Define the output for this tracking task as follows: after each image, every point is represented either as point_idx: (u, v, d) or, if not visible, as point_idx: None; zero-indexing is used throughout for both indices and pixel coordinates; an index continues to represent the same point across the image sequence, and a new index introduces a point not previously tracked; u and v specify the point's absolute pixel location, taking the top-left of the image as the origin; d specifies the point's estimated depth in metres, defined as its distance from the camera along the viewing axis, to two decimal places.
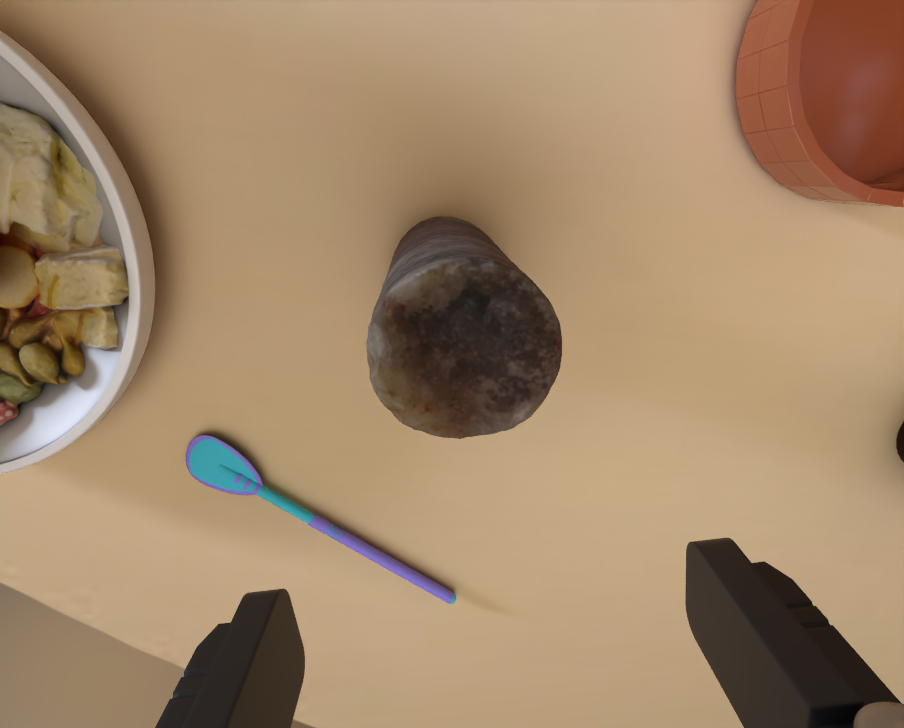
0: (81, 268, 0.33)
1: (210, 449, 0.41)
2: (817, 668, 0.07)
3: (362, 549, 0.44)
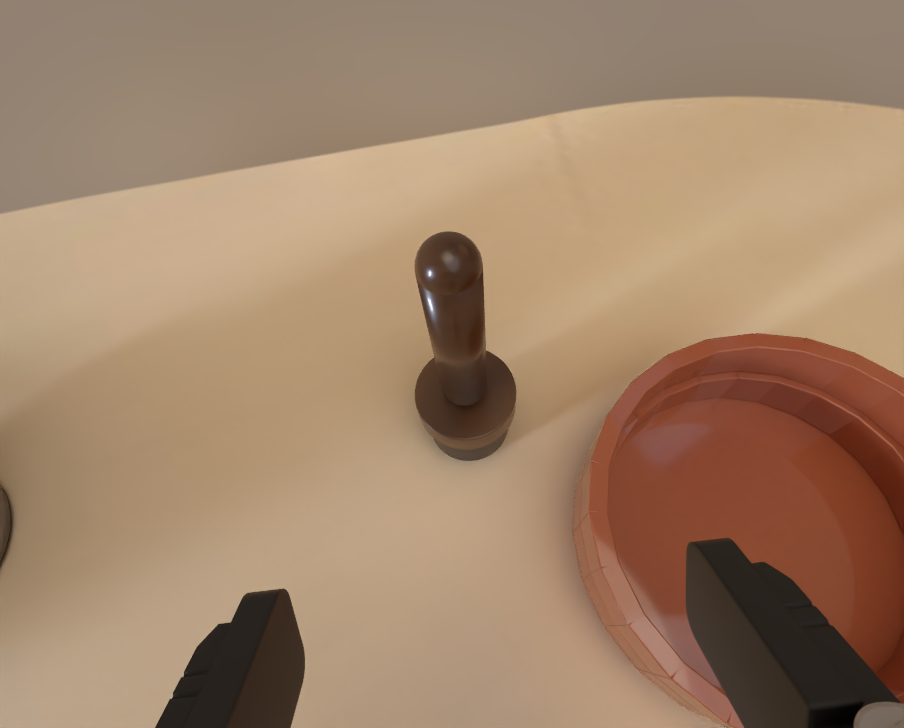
0: None
1: None
2: (817, 668, 0.07)
3: None
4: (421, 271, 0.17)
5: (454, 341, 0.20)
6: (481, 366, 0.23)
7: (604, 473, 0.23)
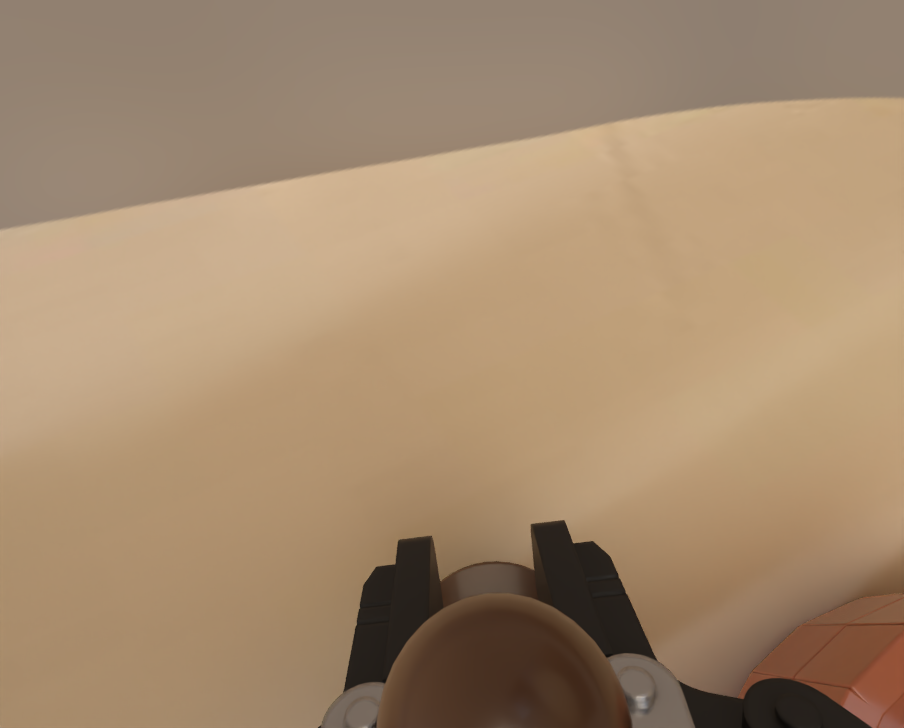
0: None
1: None
2: (587, 628, 0.09)
3: None
4: None
5: None
6: None
7: None
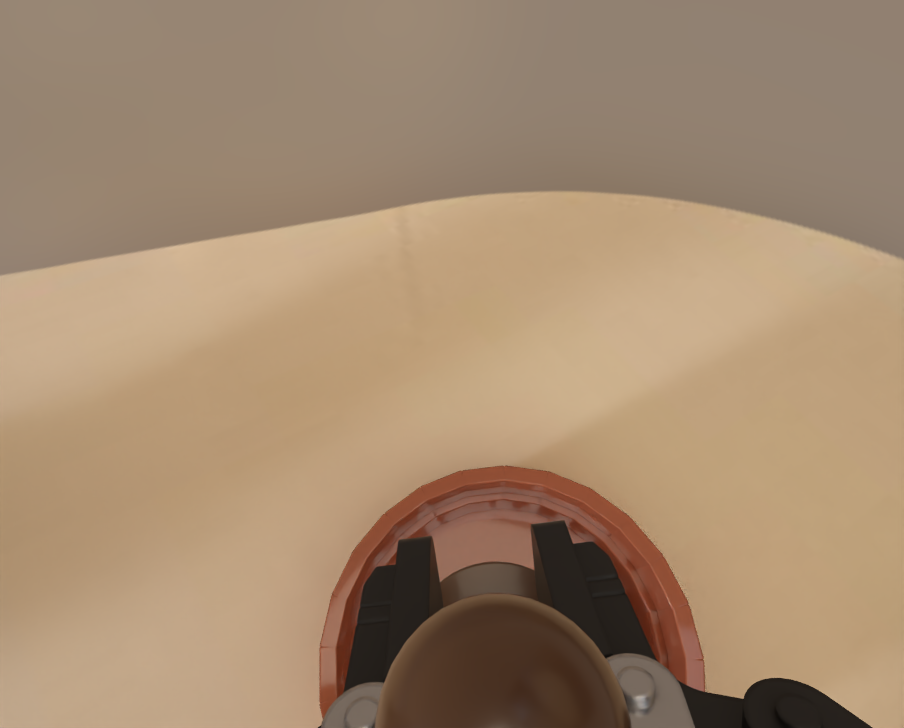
0: None
1: None
2: (587, 628, 0.09)
3: None
4: None
5: None
6: None
7: (341, 607, 0.25)
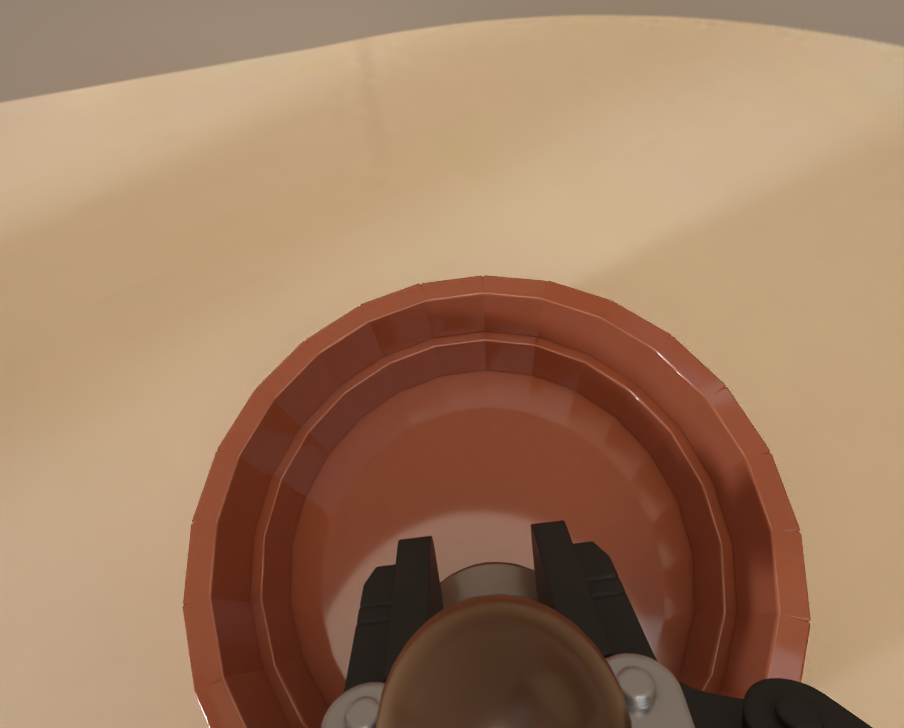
0: None
1: None
2: (588, 628, 0.09)
3: None
4: None
5: None
6: None
7: (229, 467, 0.16)
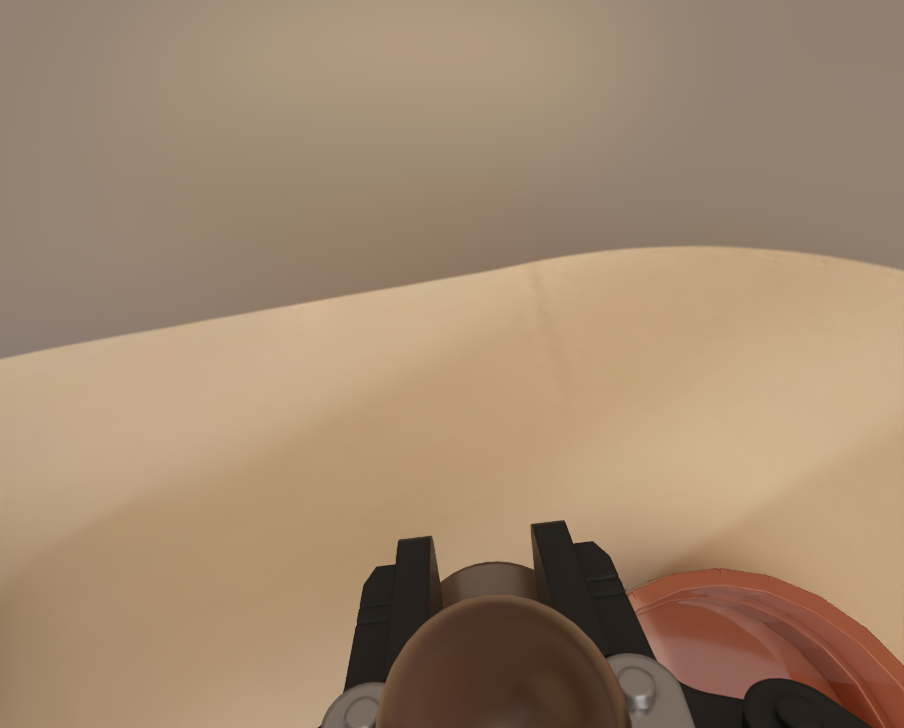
0: None
1: None
2: (588, 628, 0.09)
3: None
4: None
5: None
6: None
7: None
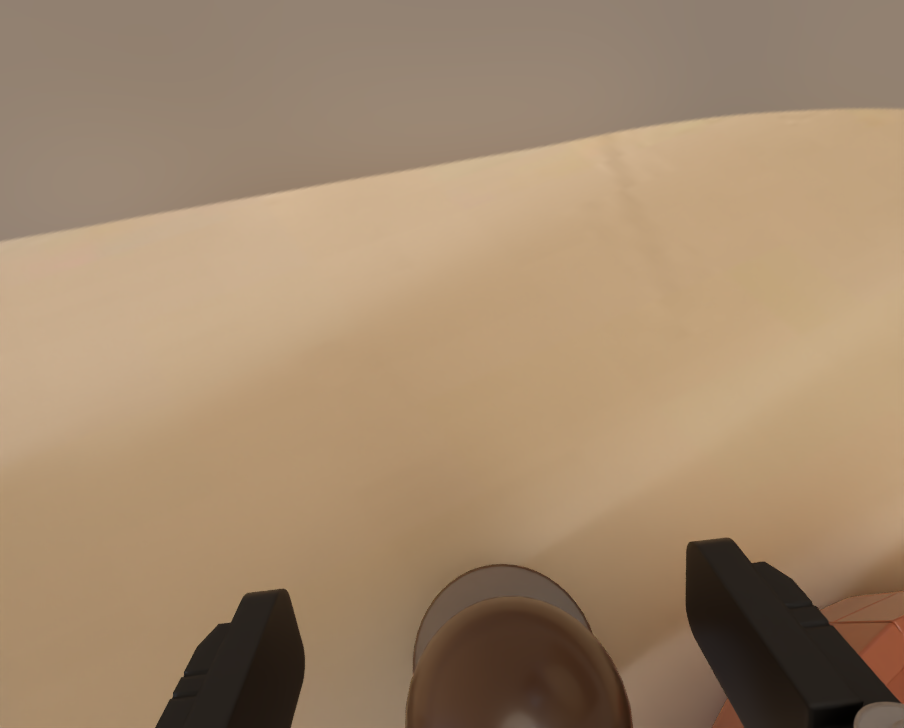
0: None
1: None
2: (817, 668, 0.07)
3: None
4: None
5: None
6: None
7: None
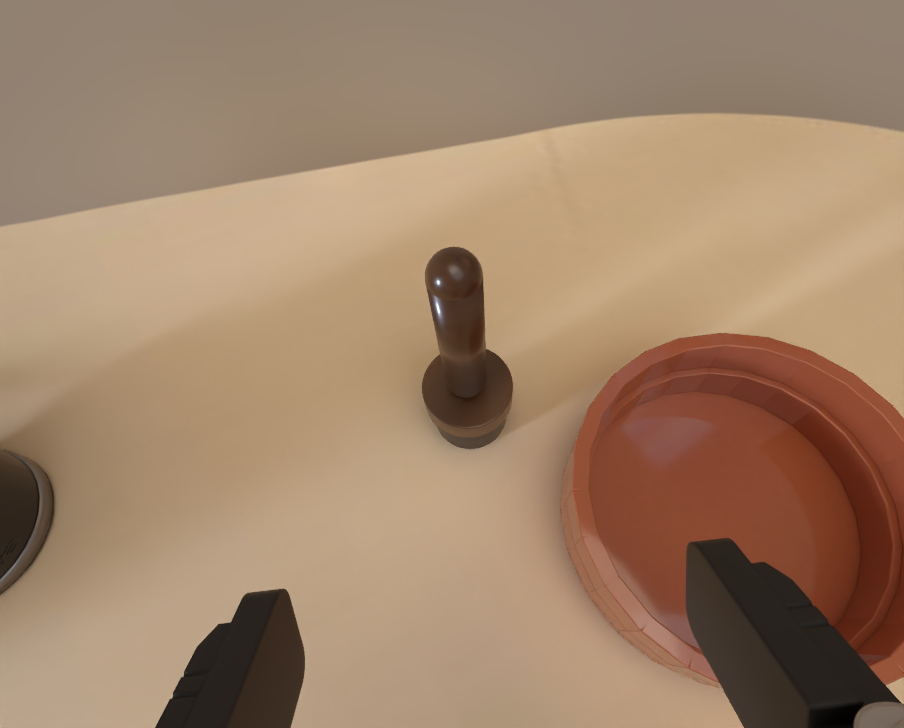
0: None
1: None
2: (817, 668, 0.07)
3: None
4: (431, 280, 0.20)
5: (458, 340, 0.23)
6: (481, 362, 0.26)
7: (586, 456, 0.26)
